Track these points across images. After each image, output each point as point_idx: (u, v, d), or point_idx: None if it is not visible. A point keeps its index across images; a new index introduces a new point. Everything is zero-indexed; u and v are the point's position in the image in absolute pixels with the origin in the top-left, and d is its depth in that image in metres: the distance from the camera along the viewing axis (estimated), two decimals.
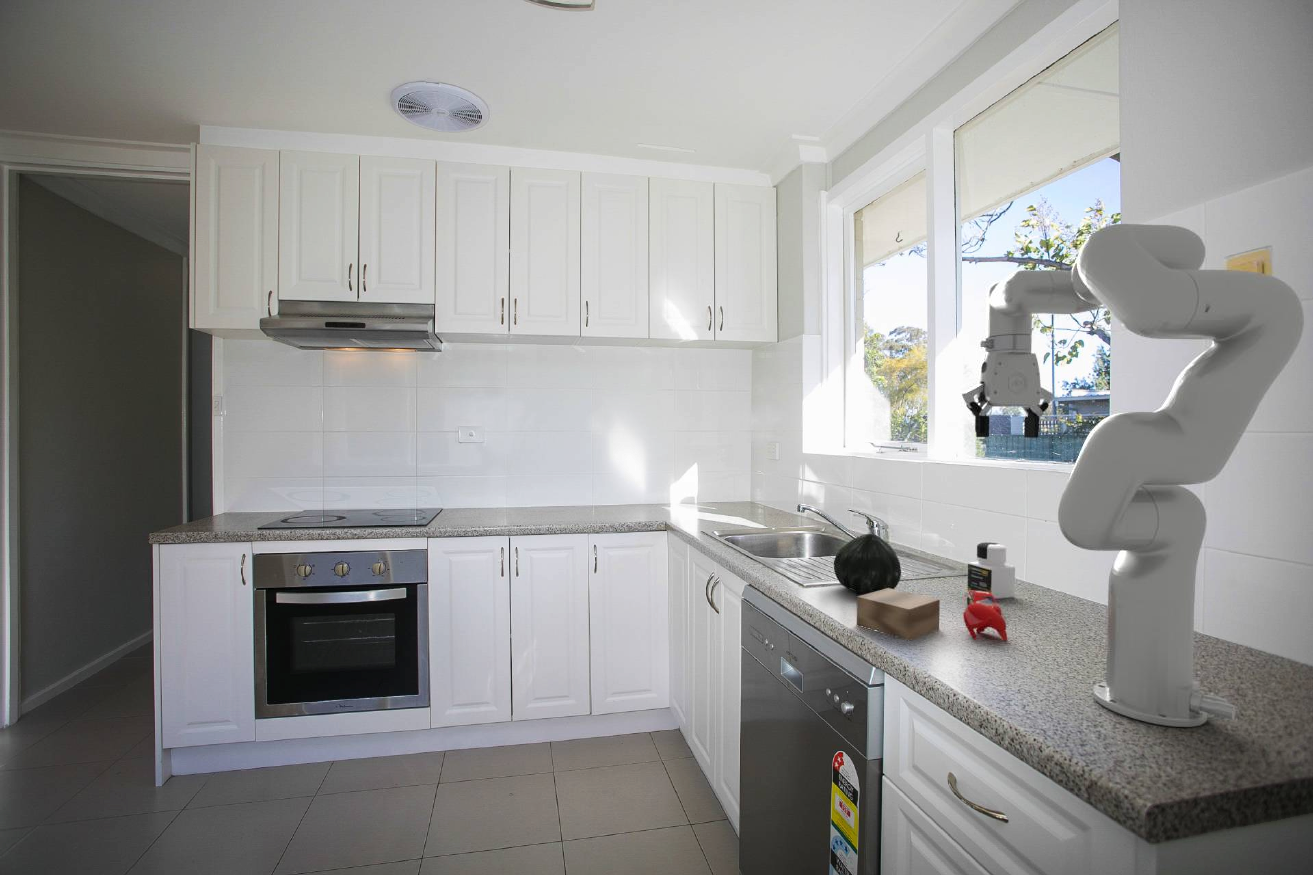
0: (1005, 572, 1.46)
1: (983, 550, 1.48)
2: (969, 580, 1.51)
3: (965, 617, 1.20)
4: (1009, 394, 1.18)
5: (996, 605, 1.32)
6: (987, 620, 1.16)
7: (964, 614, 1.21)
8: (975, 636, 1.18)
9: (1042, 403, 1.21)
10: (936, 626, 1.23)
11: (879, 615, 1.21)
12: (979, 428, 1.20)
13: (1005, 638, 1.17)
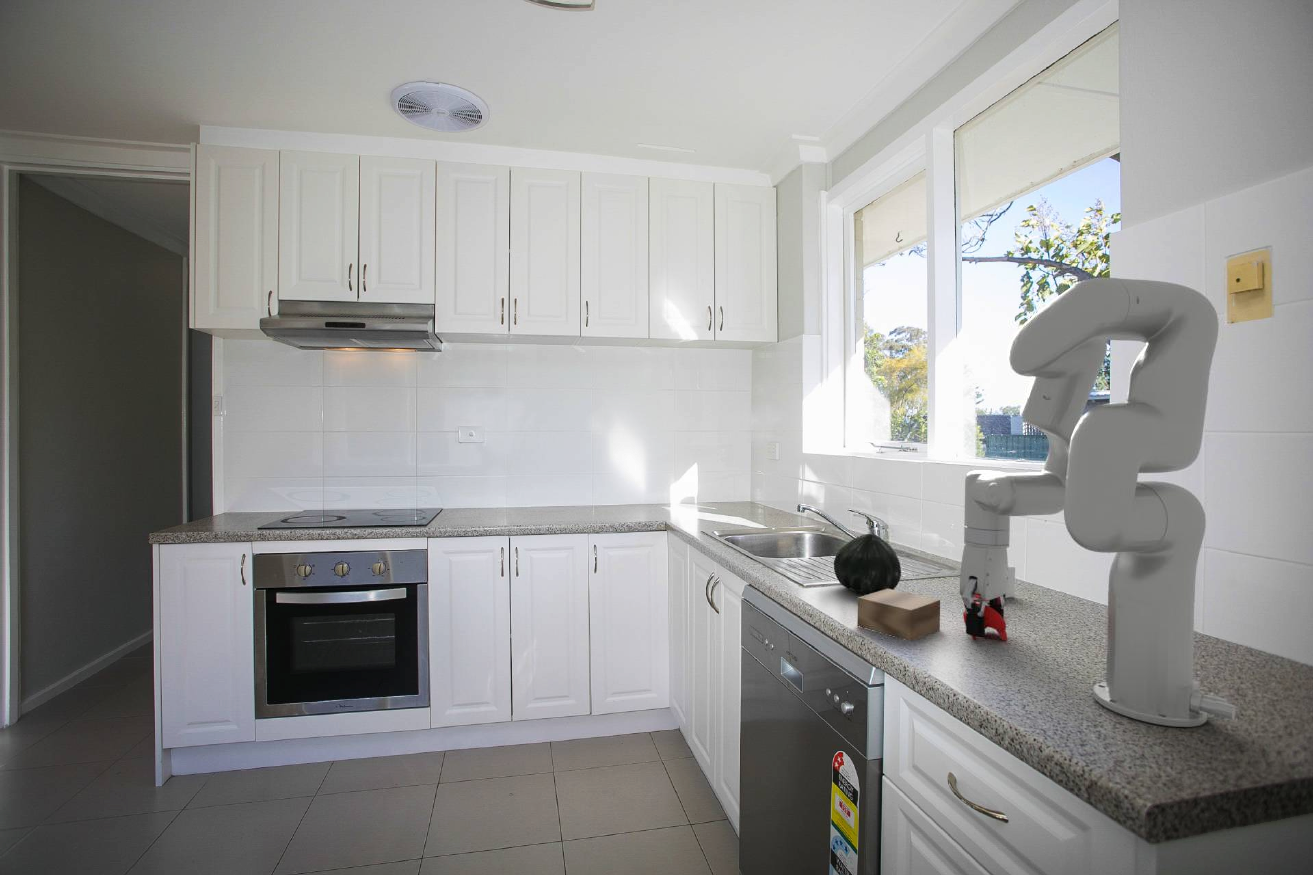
0: None
1: None
2: None
3: (965, 617, 1.20)
4: None
5: None
6: (987, 620, 1.16)
7: (964, 614, 1.21)
8: None
9: None
10: (936, 626, 1.22)
11: (880, 616, 1.21)
12: None
13: (1005, 638, 1.17)
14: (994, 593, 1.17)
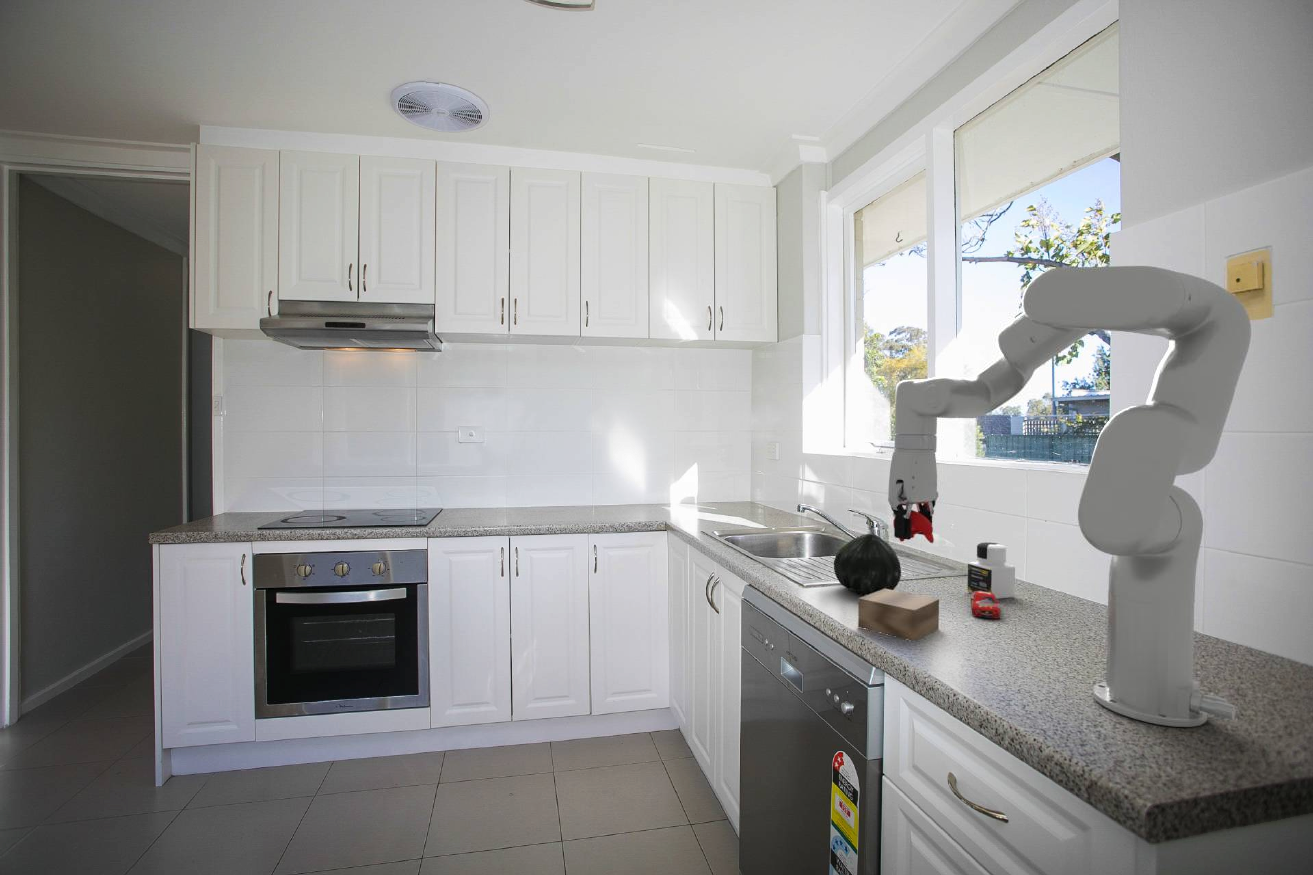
0: (1005, 572, 1.46)
1: (983, 550, 1.48)
2: (969, 580, 1.51)
3: (894, 522, 1.24)
4: None
5: (995, 605, 1.32)
6: (913, 522, 1.20)
7: (894, 520, 1.25)
8: (902, 539, 1.22)
9: None
10: (936, 626, 1.23)
11: (882, 616, 1.20)
12: None
13: (931, 540, 1.21)
14: (921, 497, 1.21)
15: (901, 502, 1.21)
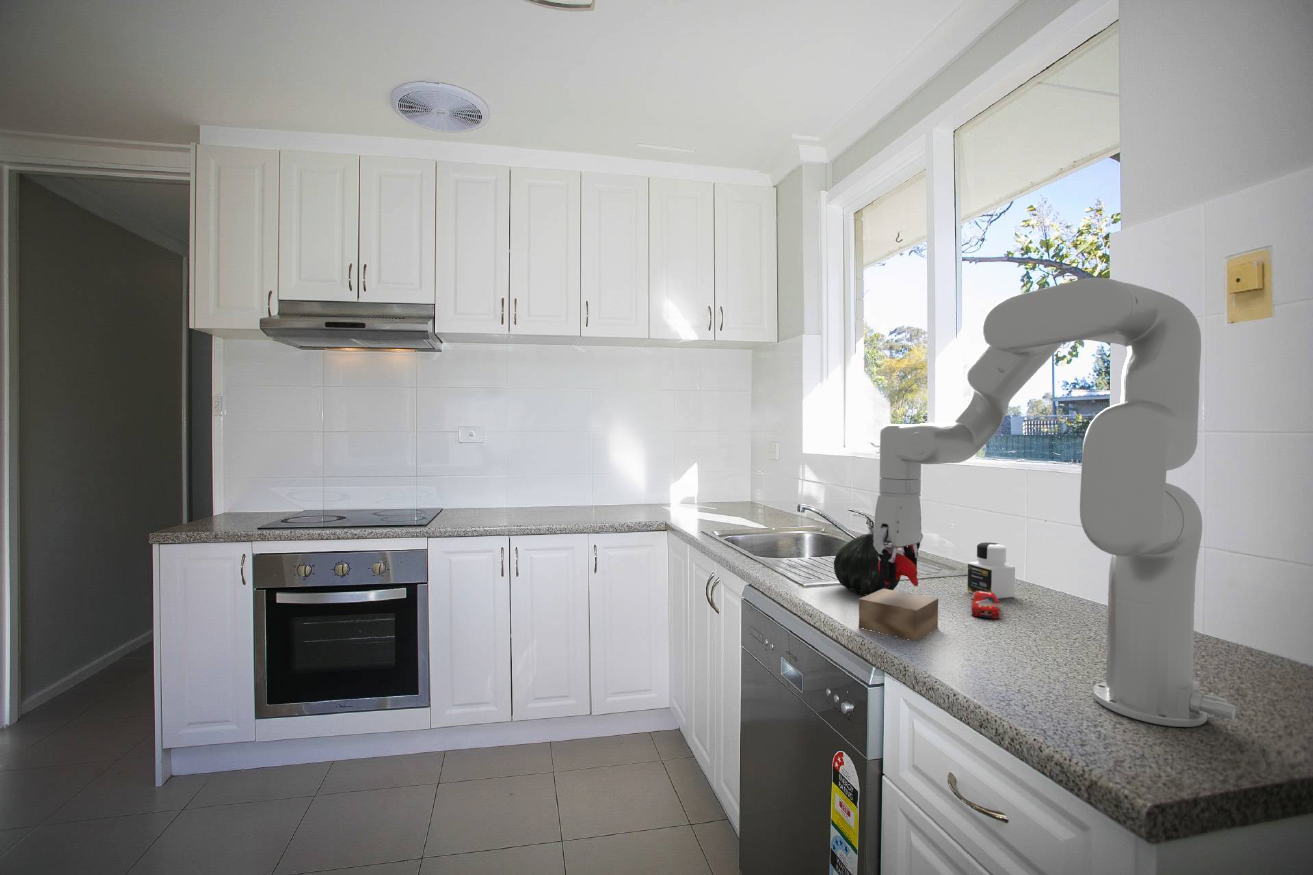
0: (1005, 572, 1.46)
1: (983, 550, 1.48)
2: (969, 580, 1.51)
3: (879, 565, 1.25)
4: None
5: (995, 605, 1.32)
6: (898, 566, 1.21)
7: (879, 562, 1.26)
8: (887, 582, 1.23)
9: None
10: (935, 625, 1.23)
11: (883, 617, 1.20)
12: None
13: (915, 583, 1.22)
14: (905, 540, 1.22)
15: (886, 546, 1.22)
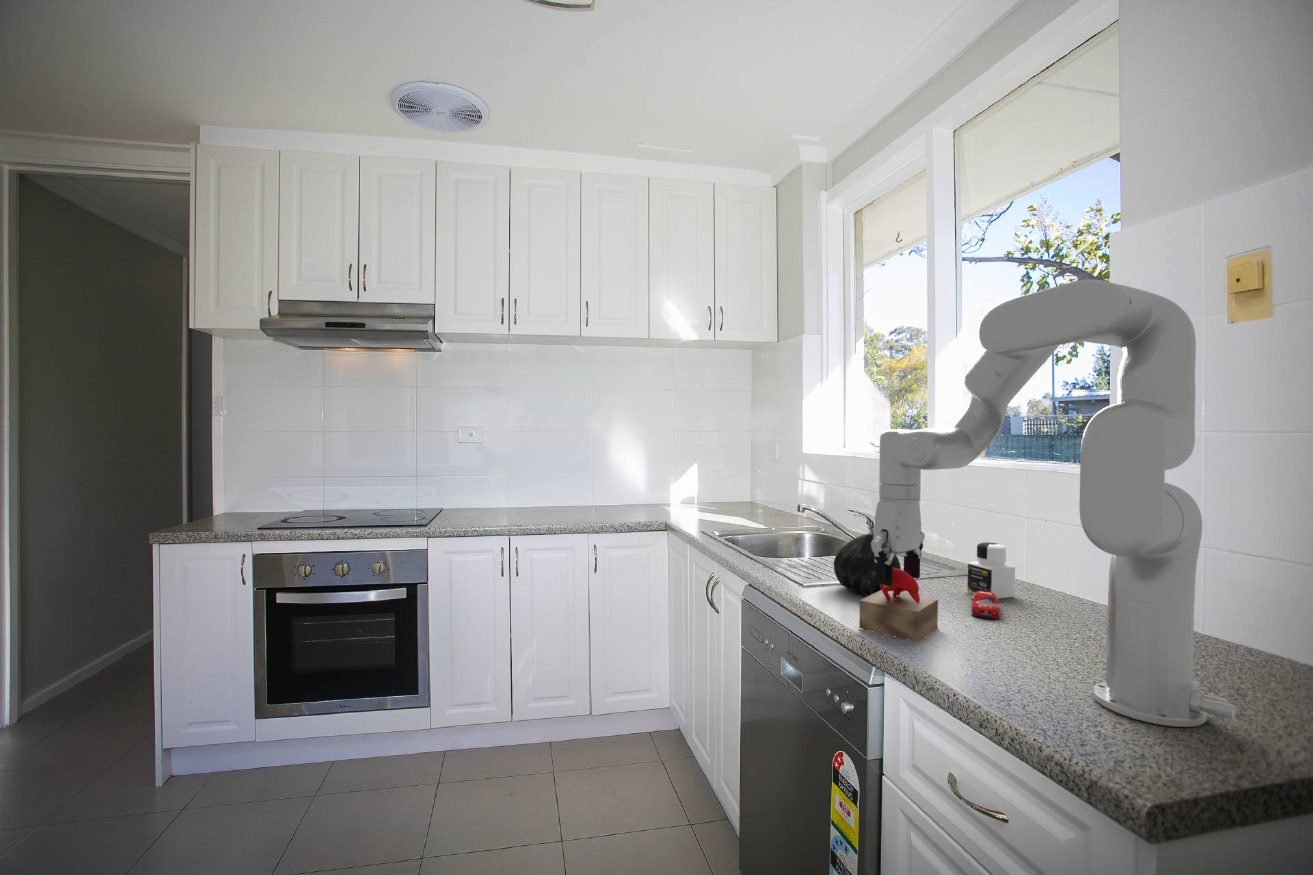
0: (1005, 572, 1.46)
1: (983, 550, 1.48)
2: (969, 580, 1.51)
3: None
4: None
5: (995, 606, 1.32)
6: (899, 582, 1.21)
7: None
8: (889, 598, 1.23)
9: None
10: (935, 626, 1.23)
11: (884, 618, 1.20)
12: None
13: (917, 600, 1.21)
14: (905, 546, 1.22)
15: (884, 549, 1.21)
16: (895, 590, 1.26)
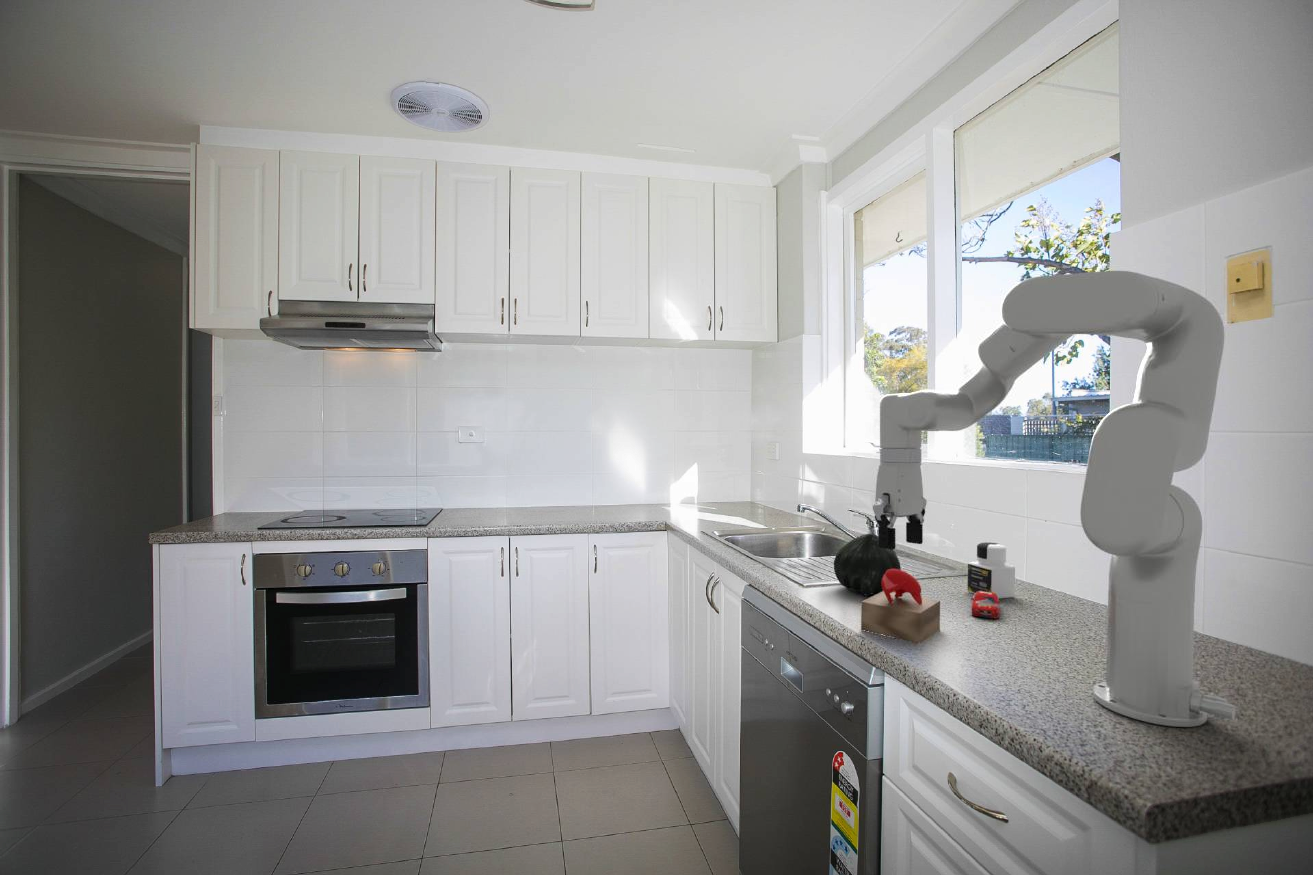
0: (1005, 572, 1.46)
1: (983, 550, 1.48)
2: (969, 580, 1.51)
3: (883, 582, 1.23)
4: None
5: (995, 605, 1.31)
6: (901, 584, 1.20)
7: (882, 579, 1.24)
8: (891, 600, 1.21)
9: None
10: (937, 627, 1.22)
11: (886, 620, 1.19)
12: None
13: (919, 602, 1.20)
14: (907, 510, 1.21)
15: (886, 513, 1.21)
16: (897, 591, 1.25)
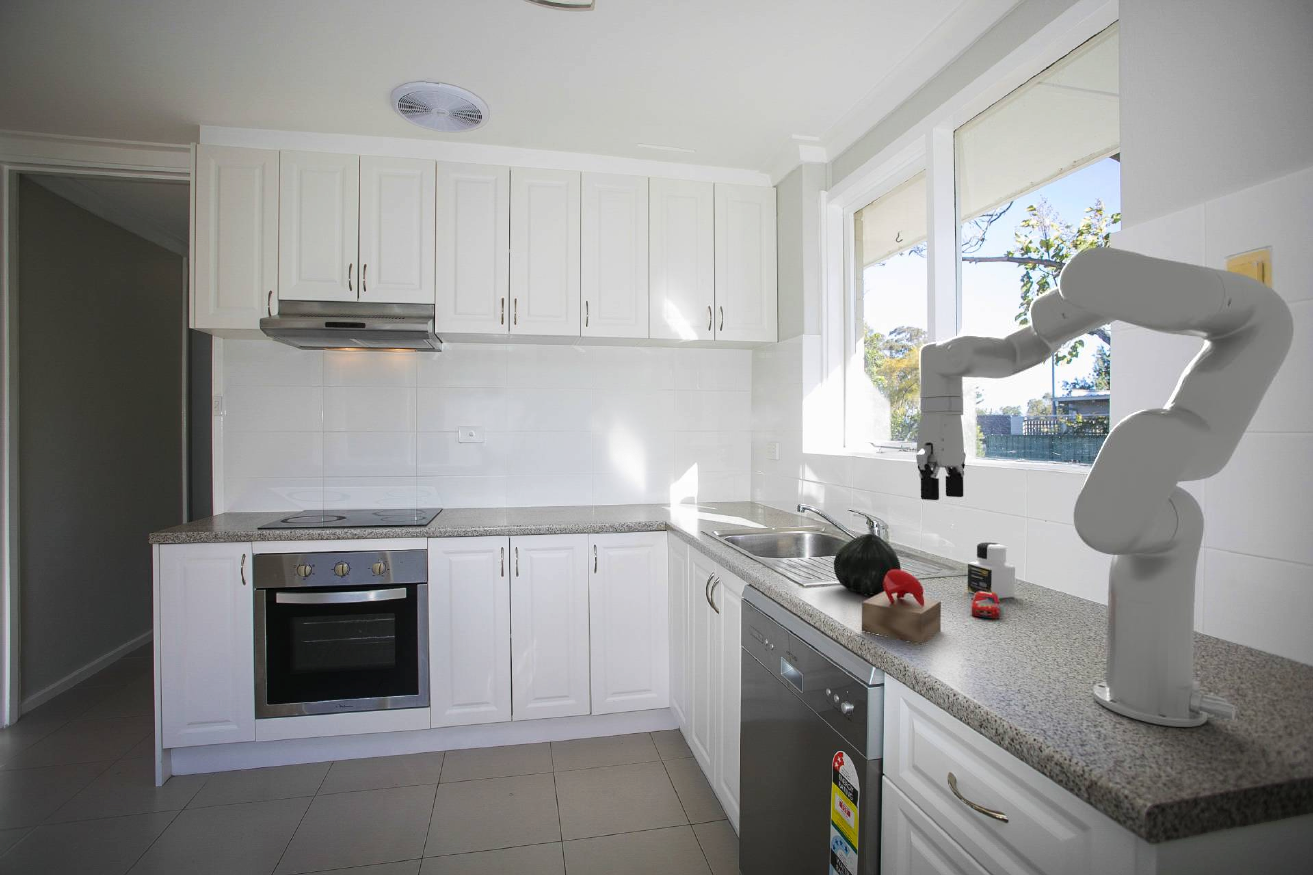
0: (1006, 572, 1.46)
1: (983, 550, 1.48)
2: (969, 580, 1.51)
3: (884, 583, 1.22)
4: None
5: (995, 606, 1.31)
6: (904, 585, 1.19)
7: (884, 580, 1.23)
8: (893, 601, 1.20)
9: None
10: (938, 628, 1.22)
11: (887, 620, 1.18)
12: None
13: (921, 602, 1.19)
14: (950, 460, 1.18)
15: (929, 463, 1.18)
16: (899, 592, 1.24)
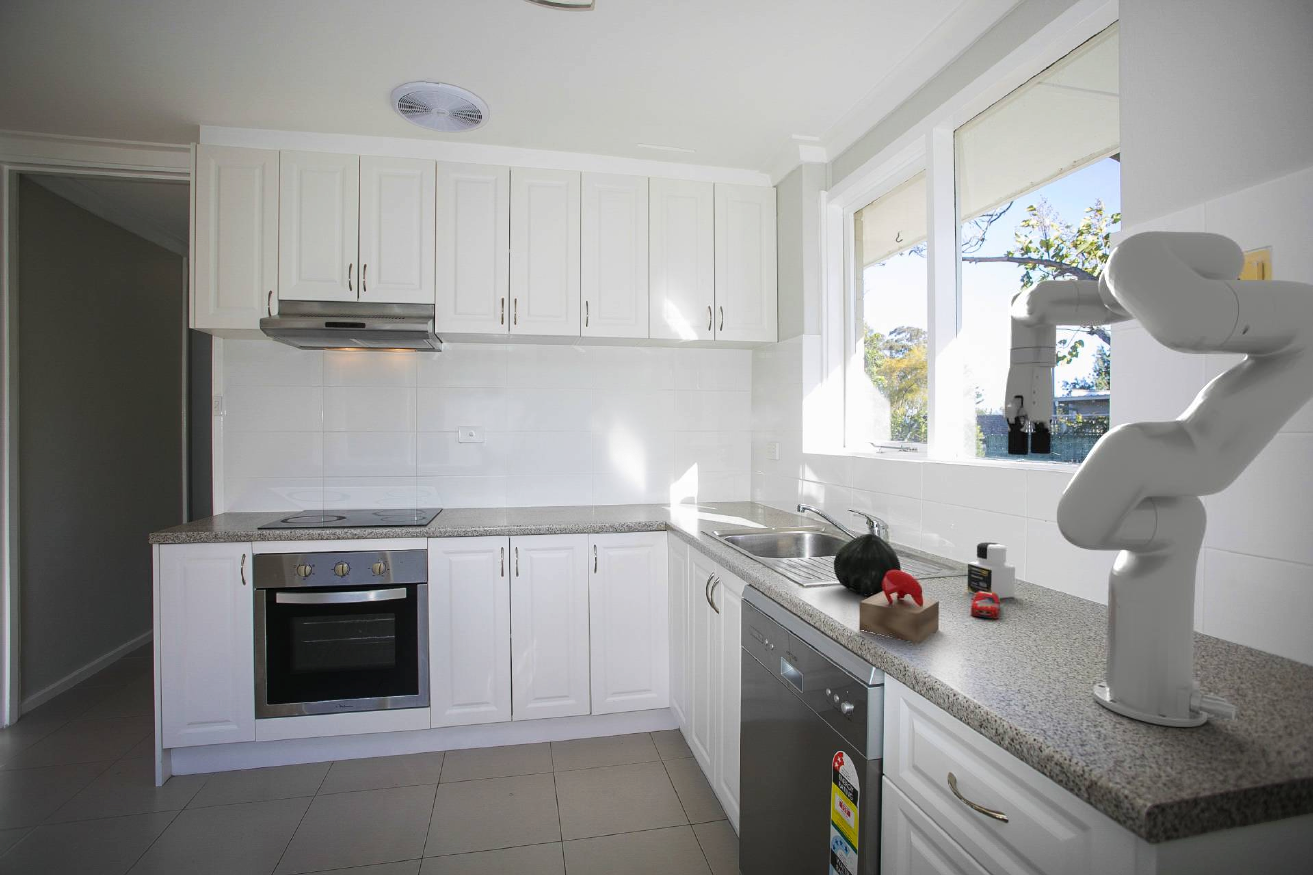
0: (1005, 572, 1.46)
1: (983, 550, 1.48)
2: (969, 580, 1.51)
3: (883, 583, 1.23)
4: None
5: (994, 606, 1.31)
6: (901, 585, 1.19)
7: (883, 580, 1.23)
8: (891, 601, 1.21)
9: None
10: (936, 628, 1.22)
11: (884, 620, 1.19)
12: None
13: (920, 603, 1.19)
14: (1040, 414, 1.13)
15: (1017, 417, 1.13)
16: (899, 593, 1.24)
